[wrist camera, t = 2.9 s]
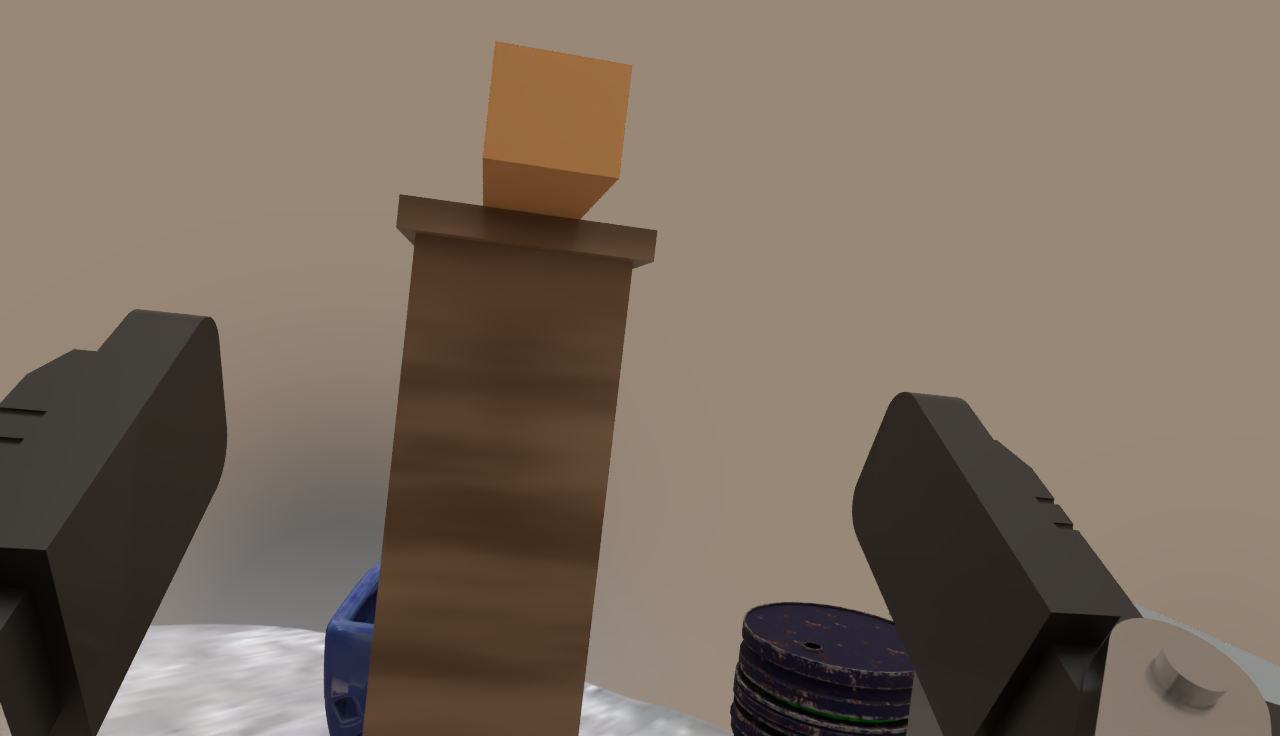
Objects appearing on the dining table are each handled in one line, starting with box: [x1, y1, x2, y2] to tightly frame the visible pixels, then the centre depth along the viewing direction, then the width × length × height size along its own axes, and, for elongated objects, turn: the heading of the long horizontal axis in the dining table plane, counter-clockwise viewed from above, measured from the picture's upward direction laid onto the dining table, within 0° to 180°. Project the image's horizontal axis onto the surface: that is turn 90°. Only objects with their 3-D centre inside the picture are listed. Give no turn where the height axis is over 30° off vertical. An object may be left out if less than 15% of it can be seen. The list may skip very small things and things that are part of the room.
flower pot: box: [324, 562, 381, 736], centre depth 52 cm, size 13×13×12 cm
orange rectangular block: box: [483, 41, 632, 220], centre depth 29 cm, size 22×3×2 cm, turn 10°
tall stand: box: [362, 195, 657, 736], centre depth 33 cm, size 12×10×32 cm
